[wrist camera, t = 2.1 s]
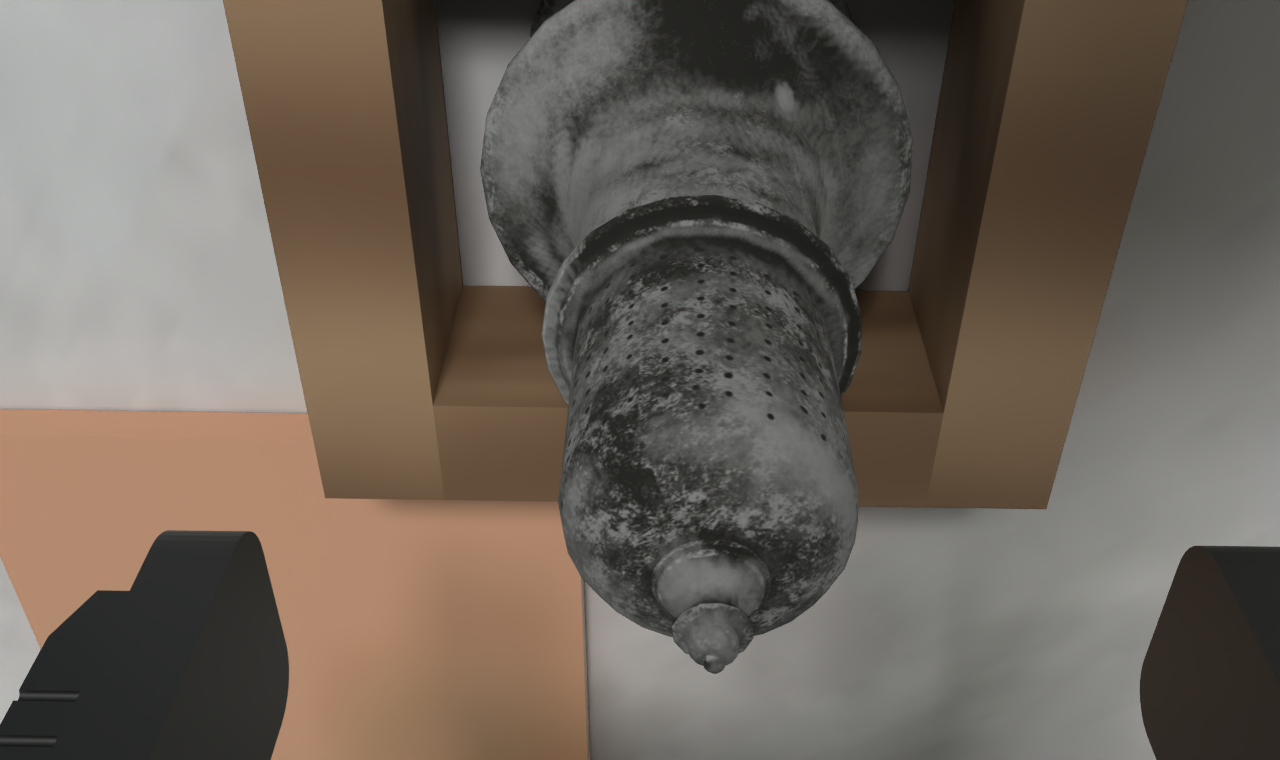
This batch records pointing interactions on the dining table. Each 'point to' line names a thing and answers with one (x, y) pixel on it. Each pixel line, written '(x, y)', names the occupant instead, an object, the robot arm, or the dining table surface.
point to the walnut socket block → (891, 320)
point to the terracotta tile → (318, 579)
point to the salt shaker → (701, 290)
